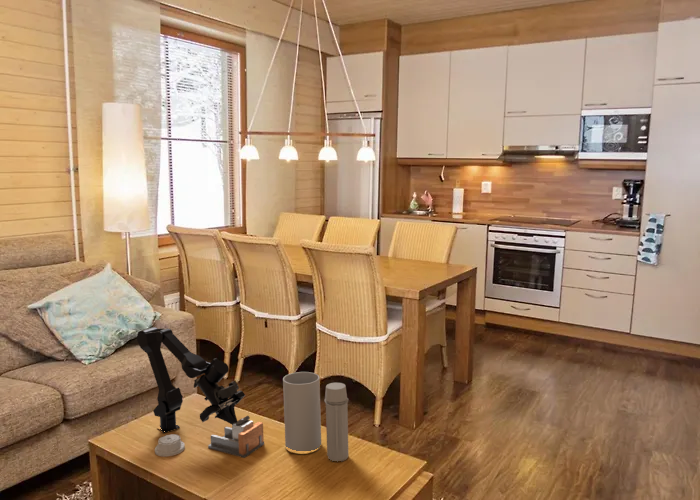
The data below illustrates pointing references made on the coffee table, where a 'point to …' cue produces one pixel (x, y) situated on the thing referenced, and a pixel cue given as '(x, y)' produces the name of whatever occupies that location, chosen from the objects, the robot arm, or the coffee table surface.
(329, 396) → the water bottle
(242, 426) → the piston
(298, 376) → the cylinder vase
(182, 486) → the coffee table surface
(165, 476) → the coffee table surface
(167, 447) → the mechanical component
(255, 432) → the grey and orange holder
